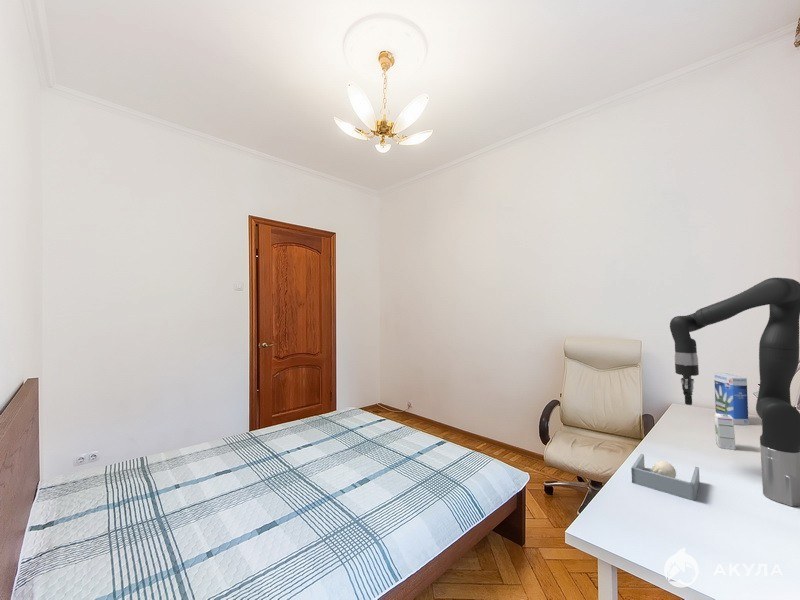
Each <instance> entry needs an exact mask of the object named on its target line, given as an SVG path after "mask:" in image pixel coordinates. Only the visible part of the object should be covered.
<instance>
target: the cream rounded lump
mask: <svg viewBox="0 0 800 600" xmlns="http://www.w3.org/2000/svg"><path fill="white" fill-rule="evenodd" d="M651 469H652V472H653V473H657V474H660V475H664V476H668V477H672V478H675V479H676V476H677V471H676V469H675V467H674V466H673V465H672V463H669V462H667V461H664V460H663V461H662V460H659V461H655V462H654V463H653V466H652V468H651Z"/></svg>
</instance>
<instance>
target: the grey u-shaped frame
mask: <svg viewBox="0 0 800 600" xmlns="http://www.w3.org/2000/svg"><path fill="white" fill-rule="evenodd" d="M645 466H646V465H645V454H644V453H640V454H639V456H638V458H637V459H636V460H635V462H634V463H633V465H632V466H631V483H633V484H636V485H638V486H643V487H646V488H648V489H649V488H650V489H653V490H657V491H658V492H662V493H666V494H669V495H673V496H676V497H680V498H684V499H686V500H690V501H693V502H696V500H697V499H696V498H697V496H698V489H699V488H700V487H699V486H700V483H701V481H700V468H699V467H698V466H695V467H694V471H693V474H692V476H691V480H690V482H689V481H687V480H682V479H678V478H676V477H675V478H672V477H668V476H664V475H660V474H657V473H653V471H649V470H645V469H646V468H645Z"/></svg>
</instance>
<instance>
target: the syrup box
mask: <svg viewBox="0 0 800 600" xmlns="http://www.w3.org/2000/svg"><path fill="white" fill-rule="evenodd" d="M713 415H714V427H715V428H714V429H715V441H716V445H717V446H718V447H719V448H720V449H724V450H732V451H733V450H734V451H736V437H735V435H736V434H735V425H734V421H733V418H732V417H731V416H730V415H727V414H716V413H714V414H713Z"/></svg>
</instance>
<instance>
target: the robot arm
mask: <svg viewBox="0 0 800 600" xmlns="http://www.w3.org/2000/svg"><path fill="white" fill-rule="evenodd" d="M762 306H769V317H768V319H767V320H768V321H767V324H766V326H765V327H764V330H763V332H762V334H761V336H760V339H759V344H758V346H759V347H758V359H759V361H758V364H759V365H758V370H759V371H758V372H759V388H758V395H757V400H756V403H755V411H756V414H757V415H758V417H759V418H760V419H761V427H762V429H761V435H760V436H759V444H760V445H759V447H760V462H761V463H760V464H761V466H760V467H761V481H762V482H761V483H762V495H764V496H765V498H768V499H770V500H772V501H774V502H778V503H780V504H784V505H788V506H790V507H792V506H793V507H800V411H799V410H798V409H797V408H796V407H794V406H793V405H792V399H791V384H792V381H793V379H794V377H795V375H796V372H797V370H798V368H799V363H800V362H799V361H800V282H799V281H797V280H795V279H793V278H787V277H770V278H766V279H765V280H761V282H758V283H756V284H754V285H753V286H751V287H750V288H748V289H746V290H744V291H741V292H739V293H738V294H736V295H733V296H731V297H729V298H726V299H723V300H721V301H718V302H715V303H712V304H710V305H707V306H704V307H702V308H699V309H697V310H696V311H695V312H693V313H690V314H687V315H676V316H674V317H672V318H671V319H670V323H669V329H670V330H669V331H670V332H671V336H672V339H673V341H674V351H675V352H674V368H675V369H674V370H675V374H677V375H680V376H682V377H681V378H680V383H681V389H682V393H683V396H684V404H685V405H686V406H692V405H693V395H694V394H693V392H694V383H695V378H692V376H693V377H695V376H699V375H700V374H699V373H700V371H699V357H698V351H697V342H696V340H695V339H694V338H691V337H692V336H691V334H690V333H692V332H695V331H699V330H701V329H703V328H705V327H707V326H710V325H714V324H717V323H719V322H723V321H726V320H728V319H731V318H733V317H735V316H737V315H738V314H740V313H741V314H742V312H745V311H747V310H750V309H753V308H754V309H755V308H758V307H762Z"/></svg>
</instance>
